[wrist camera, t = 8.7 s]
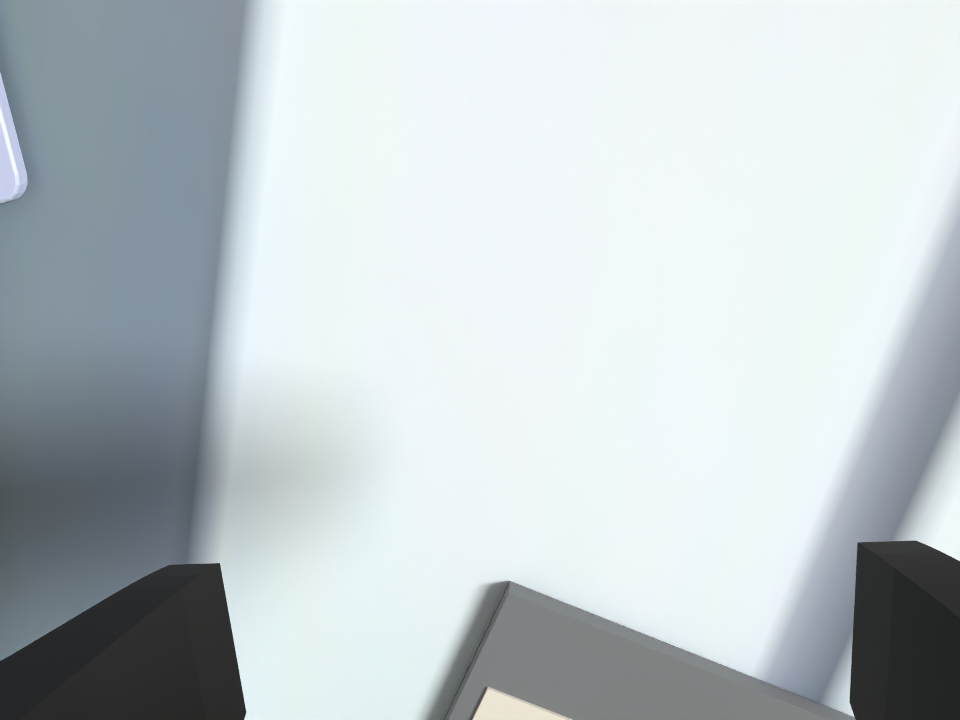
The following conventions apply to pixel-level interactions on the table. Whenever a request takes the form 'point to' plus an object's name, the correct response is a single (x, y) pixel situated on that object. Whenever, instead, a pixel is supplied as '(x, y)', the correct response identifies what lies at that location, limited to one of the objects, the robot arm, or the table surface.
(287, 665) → the table surface
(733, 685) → the mat
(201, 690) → the robot arm
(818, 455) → the table surface
